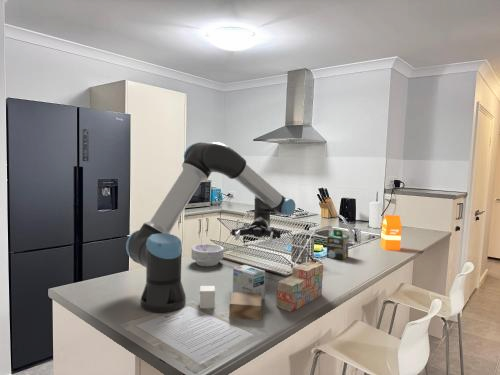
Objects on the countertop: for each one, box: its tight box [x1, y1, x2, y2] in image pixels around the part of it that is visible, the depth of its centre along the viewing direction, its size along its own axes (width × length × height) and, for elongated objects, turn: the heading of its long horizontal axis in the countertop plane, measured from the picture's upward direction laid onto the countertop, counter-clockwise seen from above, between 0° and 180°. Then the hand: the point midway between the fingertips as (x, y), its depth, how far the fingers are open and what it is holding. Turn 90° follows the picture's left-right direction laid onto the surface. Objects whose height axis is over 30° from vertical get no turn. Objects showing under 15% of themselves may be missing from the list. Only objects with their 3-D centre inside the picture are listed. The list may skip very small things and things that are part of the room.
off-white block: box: [199, 285, 216, 309], centre depth 124 cm, size 5×5×6 cm
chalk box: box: [326, 229, 350, 261], centre depth 191 cm, size 9×9×15 cm
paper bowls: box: [190, 243, 225, 267], centre depth 172 cm, size 15×15×8 cm
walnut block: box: [228, 291, 263, 321], centre depth 119 cm, size 10×10×5 cm
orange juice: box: [380, 214, 402, 251], centre depth 214 cm, size 8×9×20 cm
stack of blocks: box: [276, 260, 324, 313], centre depth 130 cm, size 21×6×12 cm, turn 141°
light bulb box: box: [232, 264, 266, 301], centre depth 132 cm, size 11×7×11 cm, turn 47°
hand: (253, 237), depth 140 cm, fingers open, 13 cm apart
